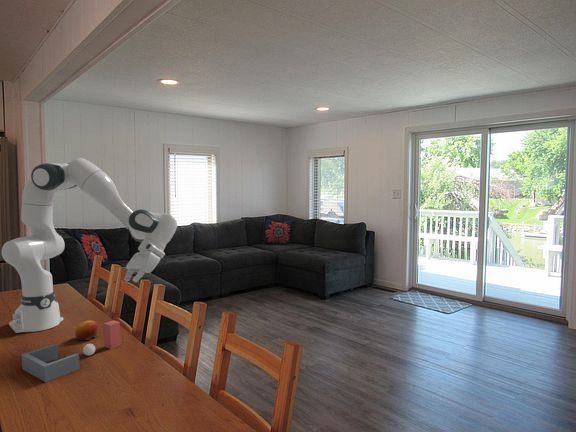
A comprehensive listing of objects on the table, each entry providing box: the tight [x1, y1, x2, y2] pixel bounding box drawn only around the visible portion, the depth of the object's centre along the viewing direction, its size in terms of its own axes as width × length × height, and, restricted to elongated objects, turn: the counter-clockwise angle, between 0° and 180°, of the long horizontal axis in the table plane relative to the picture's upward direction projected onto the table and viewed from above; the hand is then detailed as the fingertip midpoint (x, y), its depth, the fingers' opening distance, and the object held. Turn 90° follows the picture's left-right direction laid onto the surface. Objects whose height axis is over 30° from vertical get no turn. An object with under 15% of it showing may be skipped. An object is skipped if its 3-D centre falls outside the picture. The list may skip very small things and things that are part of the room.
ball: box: [82, 343, 96, 356], centre depth 144 cm, size 4×4×4 cm
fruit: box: [74, 319, 99, 341], centre depth 159 cm, size 8×8×8 cm
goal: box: [20, 343, 81, 383], centre depth 133 cm, size 16×10×5 cm, turn 55°
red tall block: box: [103, 319, 122, 350], centre depth 151 cm, size 4×4×9 cm
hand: (130, 280), depth 155 cm, fingers open, 8 cm apart
